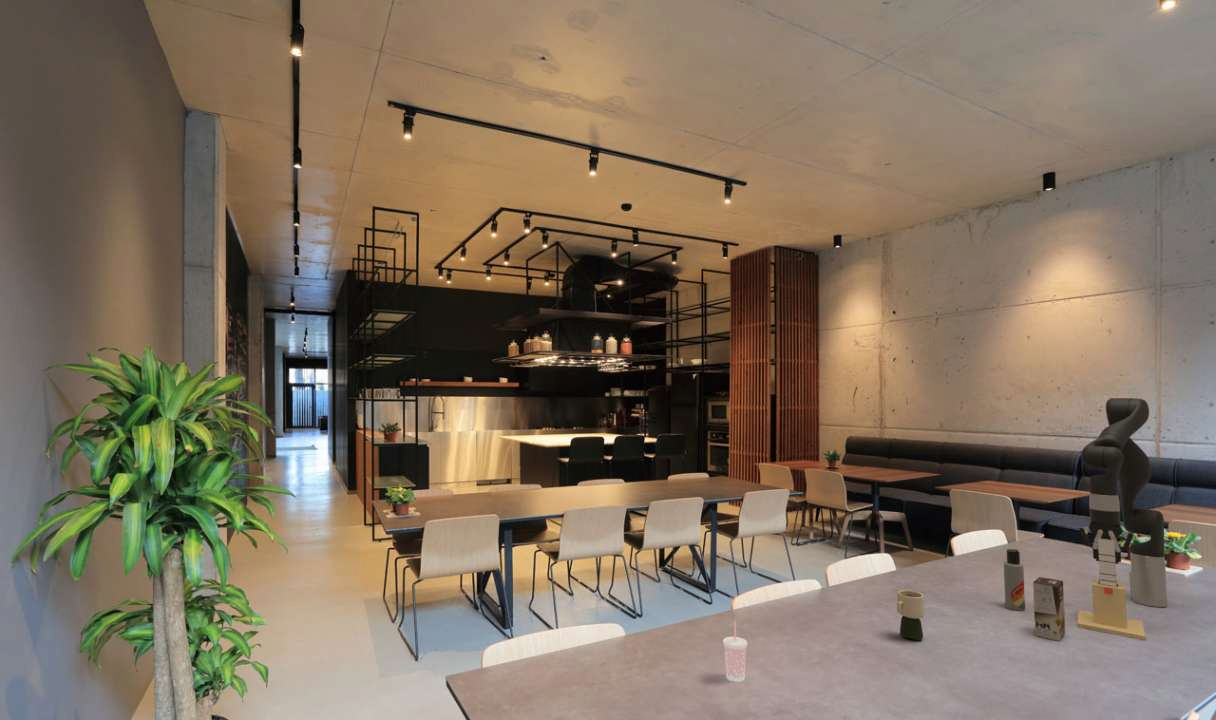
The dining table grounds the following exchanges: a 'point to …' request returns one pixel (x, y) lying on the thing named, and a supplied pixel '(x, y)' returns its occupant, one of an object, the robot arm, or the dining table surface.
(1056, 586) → the coffee box
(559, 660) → the dining table surface
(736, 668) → the beverage cup
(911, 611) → the character mug
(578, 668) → the dining table surface
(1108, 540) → the column
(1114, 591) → the stand
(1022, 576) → the lotion bottle
